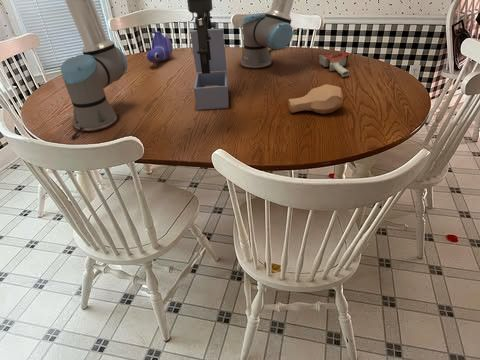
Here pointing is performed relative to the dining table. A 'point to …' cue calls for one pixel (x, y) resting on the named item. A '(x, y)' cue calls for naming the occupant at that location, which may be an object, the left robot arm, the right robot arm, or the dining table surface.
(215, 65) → the lid
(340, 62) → the grey red-topped piece
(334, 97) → the squash
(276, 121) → the dining table surface
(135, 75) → the dining table surface
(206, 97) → the chest
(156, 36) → the toy
